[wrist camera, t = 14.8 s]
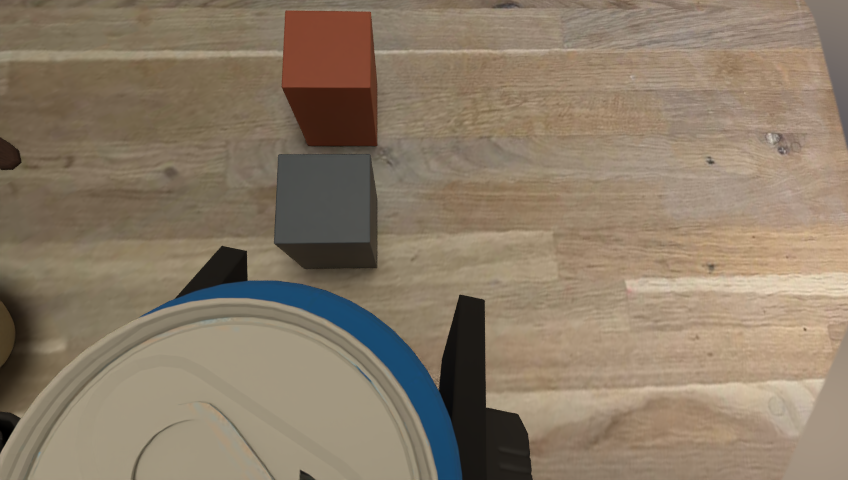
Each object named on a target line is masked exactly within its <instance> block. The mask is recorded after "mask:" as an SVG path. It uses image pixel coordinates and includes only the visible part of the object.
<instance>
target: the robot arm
mask: <svg viewBox="0 0 848 480" xmlns="http://www.w3.org/2000/svg"><path fill="white" fill-rule="evenodd" d="M243 281H248V280H247V251H244V250H239V249H234V248H229V247H225V246H221V247H220V249H219V250H218V251H217V252H216V253H215V254H214V255H213V256H212V258H211V259H210V260H209V261H208V262H207V263H206V264H205V265H204V267H203V268H202V269H201V270H200V271H199V272H198V273H197V274H196V276H195V277H194V278H193V279H192V280H191V281H190V282H189V283H188V284H187V286H186V287H185V288H184V289H183V290H182V291H181V292H180V293H179V295H178V296H177V297H176V298H179V297H181V296H184V295H186V294H189V293H192V292H194V291H198V290H202V289H206V288H210V287H213V286H217V285H221V284H227V283H235V282H243ZM176 298H175V299H176ZM439 392H440V394H441V397H442V399H443V402H444V404H445V407H446V409H447V412H448V414H449V416H450V419H451V423H452V426H453V430H454V434H455V437H456V441H457V445H458V450H459V457H460V464H461V471H462V480H533V479H532V475H531V471H532V469H531V459H530V449H529V439H528V433H527V431H526V429H525V427H524V425H523V423H522V421H521V419H520V417H519V415H518V414H515V413H510V412H505V411H500V410H496V409H491V408H486V379H485V300H483V299H478V298H474V297H469V296H464V295H459V299H458V303H457V306H456V310H455V314H454V317H453V321H452V325H451V328H450V332H449V335H448V339H447V343H446V346H445V350H444V354H443V357H442V364H441V375H440V385H439ZM20 419H21V418H19V417H17V416H16V415H14V414H12V413H8V412H0V453H1V451H2V449H3V448H4V446H5V444H6V442H7V441H8V439H9V437H10V436H11V434H12V432H13V430H14V429H15V427H16V425H17V424H18V422H19V420H20Z"/></svg>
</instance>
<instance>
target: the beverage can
mask: <svg viewBox="0 0 848 480" xmlns="http://www.w3.org/2000/svg"><path fill="white" fill-rule="evenodd" d="M0 480H462V471H461V464H460V457H459V450H458V445H457V441H456V437H455V434H454V430H453V426H452V423H451V419H450V416H449V414H448V412H447V409H446V407H445V404H444V402H443V399H442V397H441V394H440V392H439V391H438V389H437V387H436V385H435V383H434V382H433V380H432V378H431V376H430V375H429V373H428V371H427V369H426V368H425V367H424V365H423V364H422V363H421V361H420V360H419V359H418V357H417V356H416V355H415V353H414V352H413V351H412V349H411V348H410V347H409V346H408V345H407V344H406V343H405V342H404V341H403V340H402V339H401V338H400V337H399V336H398V335H397V334H396V333H395V332H394V331H393V330H392V329H391V328H390V327H389V326H387V325H386V324H385V323H383V322H382V321H381V320H380V319H378V318H377V317H376V316H374V315H373V314H372V313H370V312H369V311H367V310H365V309H363V308H362V307H360V306H358V305H357V304H355V303H353V302H351V301H350V300H347V299H345V298H343V297H340V296H338V295H335V294H333V293H331V292H328V291H326V290H322V289H318V288H314V287H311V286H307V285H303V284H297V283H290V282H282V281H243V282H235V283H227V284H221V285H217V286H213V287H210V288H206V289H202V290H198V291H194V292H192V293H189V294H186V295H184V296H181V297H179V298H176V299H174V300H171V301H168V302H167V303H165V304H163V305H161V306H159V307H157V308H155V309H153V310H151V311H150V312H148V313H146V314H144V315H142V316H141V317H139V318H138V319H135V320H134V321H132V322H130V323H128V324H126V325H124V326H122V327H120V328H118V329H117V330H115V331H113V332H111V333H109V334H108V335H106V336H105V337H103V338H102V339H100V340H99V341H97V342H96V343H95V344H93V345H92V346H90V347H89V348H87V349H86V350H84V351H83V352H82V353H81V354H80V355H78V356H77V357H76V358H75V359H74V360H73V361H72V362H70V363H69V364H68V365H67V366H66V367H65V368H63V369H62V370H61V371H60V372H59V373H58V374H57V375H56V376H55V377H54V379H53V380H52V381H51V382H50V383H49V384H48V385H47V386H46V387H45V388H44V389H43V390H42V392H41V393H40V394H39V395H38V396H37V397H36V399H35V400H34V401H33V403H32V404H31V406H30V407H29V408H28V410H27V411H26V412H25V414H24V415H23V416H22V418H21V419H20V420H19V422H18V424H17V425H16V427H15V429H14V430H13V432H12V434H11V436H10V437H9V439H8V441H7V442H6V444H5V446H4V448H3V449H2V451H1V453H0Z"/></svg>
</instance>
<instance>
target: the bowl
mask: <svg viewBox="0 0 848 480" xmlns="http://www.w3.org/2000/svg"><path fill="white" fill-rule="evenodd" d="M14 342H15V326H14V322H13V320H12V318H11V315H10V313H9V312H8V310H7V309H6V307H5V306H4V305H3V303H2V302H1V301H0V367H1V366H2V365H3V364H4V363H5V361H6V360H7V358H8V357H9V355H10V353H11V351H12V349H13V346H14Z"/></svg>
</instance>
